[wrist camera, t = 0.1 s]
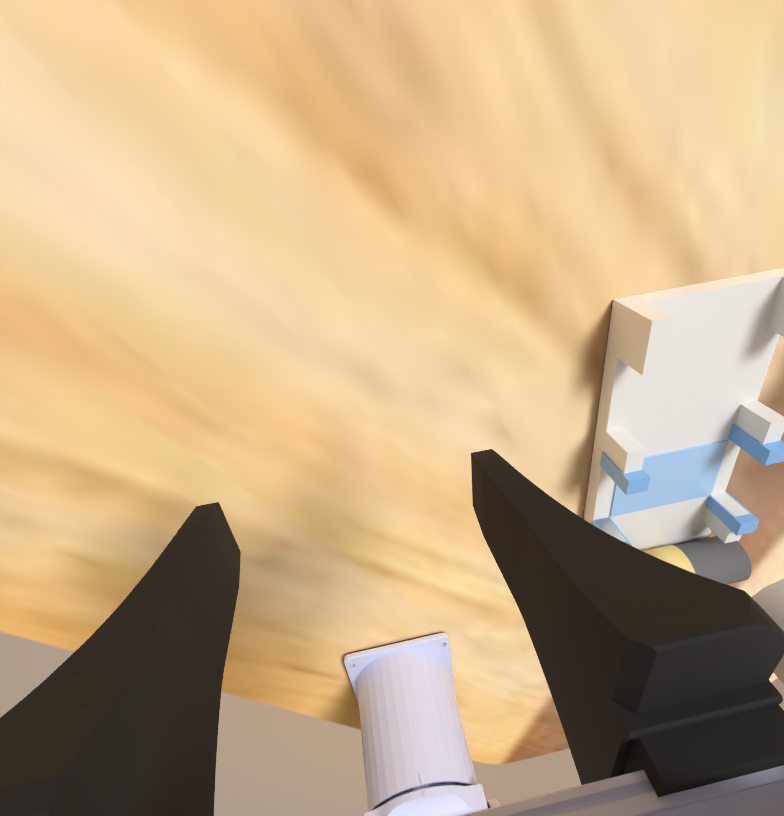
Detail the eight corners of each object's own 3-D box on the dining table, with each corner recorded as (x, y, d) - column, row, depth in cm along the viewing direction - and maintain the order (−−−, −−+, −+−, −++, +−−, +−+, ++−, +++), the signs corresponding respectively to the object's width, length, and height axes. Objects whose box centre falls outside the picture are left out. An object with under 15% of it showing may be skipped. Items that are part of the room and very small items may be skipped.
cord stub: (720, 523, 31) (758, 560, 29) (708, 554, 33) (744, 592, 30) (581, 554, 31) (607, 595, 28) (577, 584, 32) (601, 625, 30)
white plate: (684, 574, 36) (719, 615, 32) (571, 599, 35) (596, 644, 32) (785, 267, 23) (859, 288, 20) (611, 299, 22) (659, 326, 19)
